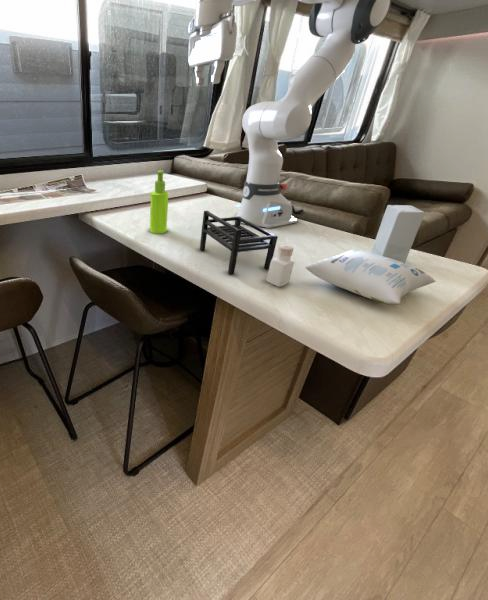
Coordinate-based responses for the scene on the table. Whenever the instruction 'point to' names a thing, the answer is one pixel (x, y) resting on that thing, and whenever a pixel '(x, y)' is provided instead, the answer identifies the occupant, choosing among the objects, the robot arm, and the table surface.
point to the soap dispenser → (159, 206)
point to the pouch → (371, 275)
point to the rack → (237, 238)
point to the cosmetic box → (397, 232)
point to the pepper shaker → (281, 266)
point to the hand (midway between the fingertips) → (207, 84)
